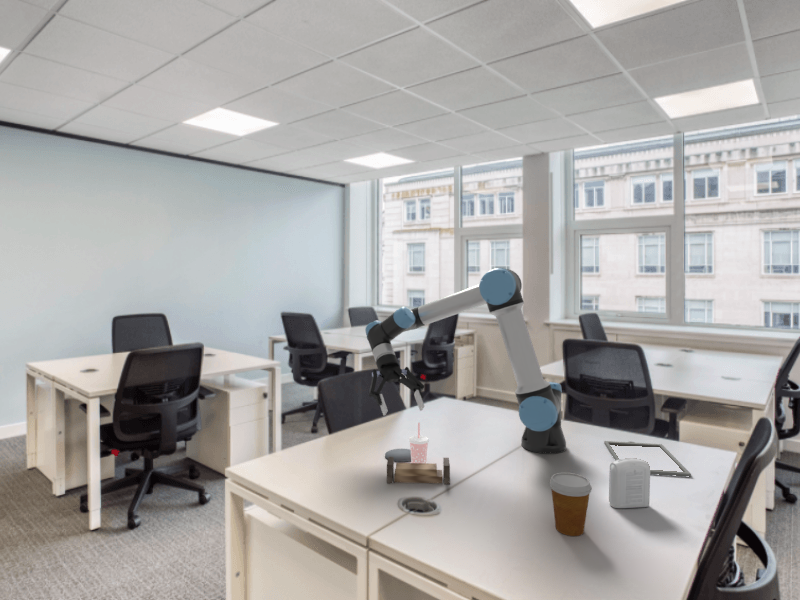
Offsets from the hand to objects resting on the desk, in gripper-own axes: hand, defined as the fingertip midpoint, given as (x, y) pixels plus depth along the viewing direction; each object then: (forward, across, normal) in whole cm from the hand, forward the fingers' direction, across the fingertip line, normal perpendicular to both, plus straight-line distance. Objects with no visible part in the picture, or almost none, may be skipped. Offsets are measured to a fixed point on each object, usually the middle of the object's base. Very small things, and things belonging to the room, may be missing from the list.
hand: (404, 410), depth 163 cm
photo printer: (+52, -37, +30) cm, 70 cm away
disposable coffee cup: (+53, -14, +31) cm, 63 cm away
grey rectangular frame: (+36, -71, +13) cm, 81 cm away
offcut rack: (+24, +4, +2) cm, 24 cm away
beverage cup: (+18, 0, -4) cm, 18 cm away
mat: (+10, 0, -12) cm, 16 cm away
